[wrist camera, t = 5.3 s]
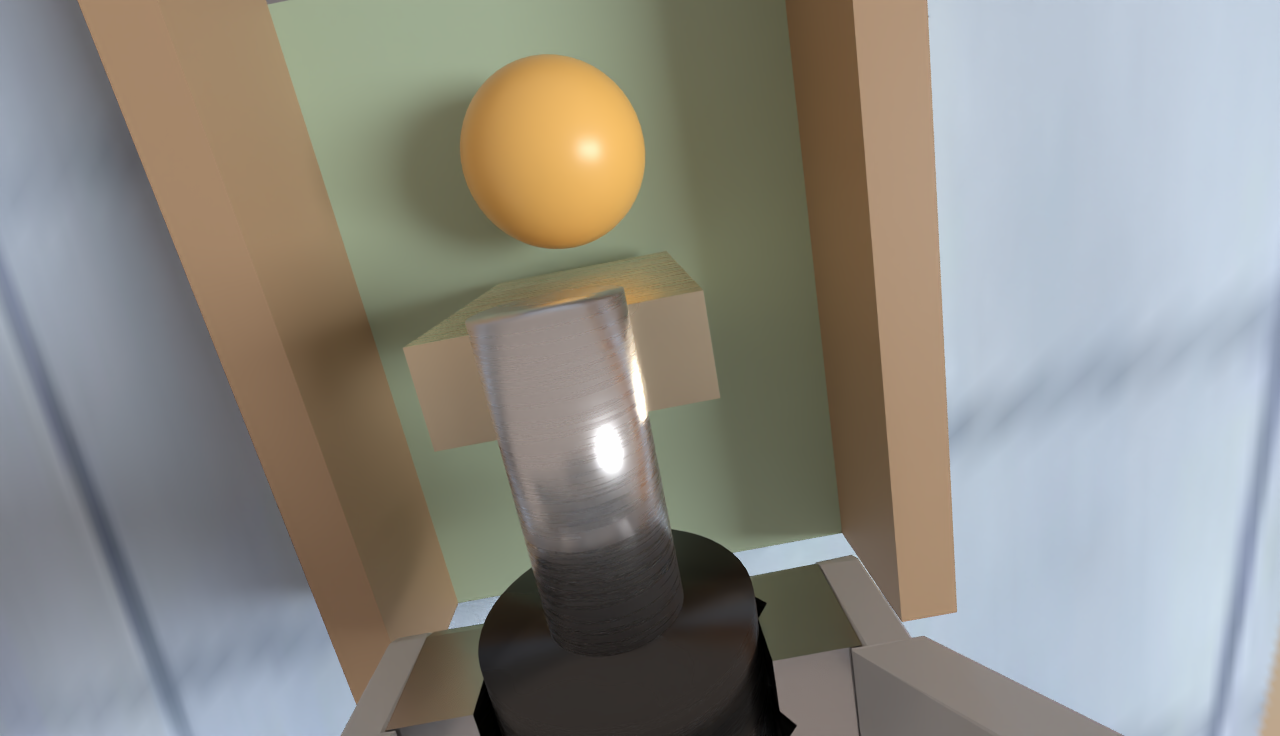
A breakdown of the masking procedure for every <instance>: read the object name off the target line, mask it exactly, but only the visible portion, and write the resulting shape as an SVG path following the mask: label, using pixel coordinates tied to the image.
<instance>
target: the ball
mask: <svg viewBox="0 0 1280 736" xmlns="http://www.w3.org/2000/svg"><path fill="white" fill-rule="evenodd" d="M460 158H461V164H462V170H463V174H464V177H465V180H466V183H467V186H468V188H469V190H470V192H471V194H472V196H473V198H474V200H475V201H476V203H477V204H478V206H479V208H480V209H481V210H482V211H483V213H484V214H485V215H486V216H487V218H488V219H489V220H490V221H491V222H492V223H493V224H495V225H496V226H497V227H498V228H499V229H501V230H502V231H503V232H505V233H506V234H508V235H509V236H511V237H513V238H515V239H516V240H519V241H521V242H523V243H526V244H529V245H532V246H536V247H540V248H547V249H566V248H574V247H578V246H582V245H585V244H588V243H590V242H593V241H595V240H597V239H599V238H600V237H602V236H604V235H605V234H607V233H608V232H609V231H611V230H612V229H613V228H615V227H616V226H617V224H618V223H619V222H620V221H621V220H622V219H623V218H624V217H625V216H626V214H627V213H628V212H629V210H630V209H631V207H632V205H633V203H634V202H635V200H636V198H637V195H638V193H639V190H640V187H641V184H642V180H643V176H644V169H645V144H644V137H643V133H642V129H641V125H640V123H639V120H638V117H637V115H636V112H635V110H634V108H633V107H632V105H631V103H630V101H629V100H628V98H627V97H626V95H625V94H624V92H623V91H622V90H621V89H620V88H619V87H618V85H617V84H616V83H615V82H614V81H613V80H612V79H610V78H609V77H608V76H607V75H606V74H605V73H603V72H602V71H600V70H599V69H597V68H595V67H594V66H592V65H590V64H588V63H586V62H584V61H581V60H578V59H575V58H572V57H568V56H562V55H556V54H541V55H533V56H528V57H525V58H521V59H518V60H516V61H513V62H511V63H509V64H507V65H505V66H504V67H502V68H500V69H499V70H497V71H496V72H495V73H494V74H493V75H491V76H490V77H489V78H488V79H487V80H486V81H485V82H484V83H483V84H482V86H481V87H480V88H479V89H478V91H477V92H476V94H475V95H474V97H473V98H472V100H471V102H470V104H469V107H468V109H467V111H466V114H465V117H464V120H463V124H462V129H461V135H460Z"/></svg>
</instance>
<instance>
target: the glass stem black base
mask: <svg viewBox="0 0 1280 736" xmlns="http://www.w3.org/2000/svg"><path fill="white" fill-rule="evenodd" d="M403 351H404V354H405V357H406V361H407V364H408V367H409V370H410V374H411V377H412V380H413V383H414V387H415V390H416V393H417V397H418V400H419V403H420V406H421V410H422V413H423V416H424V419H425V423H426V426H427V429H428V432H429V436H430V439H431V442H432V445H433V449H434V452H437V451H442V450H447V449H453V448H458V447H463V446H469V445H474V444H479V443H484V442H490V441H495V440H497V441H498V445H499V449H500V452H501V456H502V460H503V463H504V467H505V471H506V474H507V478H508V482H509V485H510V489H511V493H512V496H513V500H514V504H515V507H516V511H517V514H518V518H519V522H520V525H521V529H522V533H523V536H524V540H525V544H526V547H527V551H528V555H529V558H530V562H531V566H532V567H531V568H530V569H529V570H527V571H526V572H525V573H523V574H522V575H521V576H520V577H519V578H518V579H516V580H515V581H514V582H513V583H512V584H511V585H510V586H509V587H508V588H507V589H506V590H505V591H504V593H503V594H502V595H501V596H500V597H499V599H498V600H497V601H496V603H495V604H494V605H493V607H492V609H491V611H490V612H489V614H488V616H487V618H486V620H485V622H484V625H483V627H482V630H481V634H480V639H479V646H478V658H479V664H480V669H481V672H482V675H483V678H484V681H485V685H486V688H487V691H488V694H489V697H490V700H491V703H492V707H493V710H494V713H495V716H496V719H497V722H498V725H499V729H500V732H501V735H502V736H777V735H776V729H775V723H774V716H773V710H772V704H771V698H770V689H769V683H768V677H767V670H766V666H765V660H764V653H763V647H762V640H761V634H760V627H759V621H758V613H757V607H756V601H755V594H754V589H753V585H752V581H751V578H750V576H749V574H748V572H747V570H746V568H745V567H744V566H743V564H742V563H741V561H740V560H739V559H738V558H737V557H736V556H735V555H734V554H733V553H732V552H731V551H729V550H728V549H726V548H725V547H724V546H722V545H720V544H719V543H717V542H715V541H713V540H711V539H708V538H706V537H703V536H701V535H697V534H694V533H690V532H686V531H680V530H674V529H671V526H670V521H669V516H668V511H667V506H666V501H665V496H664V491H663V485H662V480H661V475H660V470H659V465H658V460H657V455H656V450H655V445H654V439H653V434H652V429H651V424H650V419H649V414H648V412H649V411H654V410H660V409H665V408H670V407H676V406H681V405H686V404H692V403H697V402H702V401H707V400H713V399H718V398H720V392H719V386H718V379H717V373H716V367H715V361H714V354H713V348H712V342H711V335H710V329H709V323H708V317H707V310H706V304H705V298H704V291H703V289H702V288H701V287H700V286H699V285H698V284H697V283H696V282H695V281H694V280H693V279H692V278H691V277H690V276H689V275H688V274H687V272H686V271H685V270H684V269H683V268H682V267H681V266H680V265H679V264H678V263H677V262H676V261H675V260H674V259H673V258H672V257H671V255H670V254H669V253H668V252H667V251H663V252H657V253H652V254H647V255H642V256H637V257H632V258H626V259H621V260H616V261H611V262H606V263H601V264H595V265H590V266H585V267H580V268H575V269H570V270H564V271H559V272H554V273H549V274H544V275H539V276H533V277H528V278H523V279H518V280H513V281H508V282H502V283H499V284H498V285H496V286H495V287H493V288H492V289H490V290H489V291H487V292H486V293H484V294H483V295H481V296H480V297H478V298H477V299H475V300H474V301H472V302H471V303H469V304H468V305H466V306H465V307H463V308H462V309H460V310H459V311H457V312H456V313H454V314H453V315H451V316H450V317H448V318H447V319H445V320H444V321H442V322H441V323H439V324H438V325H436V326H435V327H433V328H432V329H430V330H429V331H427V332H426V333H424V334H423V335H421V336H420V337H418V338H417V339H415V340H414V341H412V342H411V343H409V344H408V345H406V346H405V347H403Z"/></svg>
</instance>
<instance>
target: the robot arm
mask: <svg viewBox="0 0 1280 736" xmlns="http://www.w3.org/2000/svg"><path fill="white" fill-rule="evenodd" d="M750 578H751V581H752V585H753V589H754V594H755V601H756V607H757V613H758V621H759V627H760V634H761V640H762V647H763V653H764V660H765V666H766V670H767V677H768V683H769V689H770V698H771V704H772V710H773V716H774V723H775V729H776V735H777V736H1124V735H1122V734H1120V733H1118V732H1116V731H1114V730H1112V729H1110V728H1108V727H1106V726H1104V725H1102V724H1100V723H1098V722H1096V721H1094V720H1092V719H1090V718H1088V717H1086V716H1084V715H1082V714H1080V713H1078V712H1076V711H1074V710H1072V709H1070V708H1068V707H1066V706H1064V705H1062V704H1060V703H1058V702H1056V701H1054V700H1052V699H1050V698H1048V697H1046V696H1044V695H1042V694H1039V693H1037V692H1035V691H1033V690H1031V689H1029V688H1027V687H1025V686H1023V685H1021V684H1019V683H1017V682H1015V681H1013V680H1011V679H1009V678H1007V677H1005V676H1003V675H1001V674H999V673H997V672H995V671H993V670H991V669H989V668H987V667H985V666H983V665H981V664H979V663H977V662H975V661H973V660H971V659H969V658H967V657H965V656H963V655H961V654H959V653H957V652H955V651H953V650H951V649H949V648H947V647H945V646H943V645H941V644H939V643H937V642H935V641H933V640H931V639H929V638H927V637H925V636H920V637H914V638H912V637H911V636H910V635H909V633H908V632H907V630H906V629H905V627H904V626H903V624H902V623H901V621H900V620H899V618H898V617H897V615H896V614H895V612H894V611H893V610H892V608H891V607H890V605H889V604H888V602H887V601H886V599H885V598H884V596H883V595H882V593H881V592H880V590H879V589H878V587H877V586H876V585H875V583H874V582H873V580H872V579H871V577H870V576H869V574H868V573H867V571H866V570H865V568H864V567H863V565H862V564H861V562H860V561H859V560H858V558H856V557H854V556H853V555H849V556H844V557H840V558H835V559H830V560H826V561H821V562H816V563H815V564H813V565H807V566H802V567H797V568H792V569H786V570H781V571H776V572H771V573H765V574H760V575H755V576H750ZM483 625H484V624H479V625H473V626H467V627H460V628H454V629H448V630H441V631H435V632H433V633H424V634H418V635H413V636H407V637H402V638H398V639H396V640H395V641H393V642H391V643H390V644H389V646H388V647H387V649H386V651H385V653H384V655H383V657H382V658H381V660H380V662H379V664H378V666H377V668H376V670H375V672H374V674H373V675H372V677H371V679H370V681H369V683H368V685H367V687H366V689H365V691H364V692H363V694H362V696H361V698H360V700H359V702H358V704H357V706H356V708H355V709H354V711H353V713H352V715H351V717H350V719H349V721H348V723H347V724H346V726H345V728H344V730H343V732H342V734H341V736H502V735H501V732H500V729H499V725H498V722H497V719H496V716H495V713H494V710H493V707H492V703H491V700H490V697H489V694H488V691H487V688H486V685H485V681H484V678H483V675H482V672H481V669H480V664H479V658H478V646H479V639H480V634H481V630H482V627H483Z"/></svg>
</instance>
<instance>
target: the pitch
mask: <svg viewBox="0 0 1280 736" xmlns="http://www.w3.org/2000/svg"><path fill="white" fill-rule="evenodd" d="M78 3H79V5H80V8H81V10H82V13H83V16H84V18H85V21H86V23H87V26H88V28H89V31H90V33H91V36H92V38H93V41H94V43H95V46H96V48H97V51H98V53H99V56H100V58H101V61H102V63H103V66H104V69H105V71H106V74H107V76H108V79H109V81H110V84H111V86H112V89H113V91H114V94H115V96H116V99H117V101H118V104H119V106H120V109H121V111H122V114H123V117H124V119H125V122H126V124H127V127H128V129H129V132H130V134H131V137H132V139H133V142H134V144H135V147H136V149H137V152H138V154H139V157H140V159H141V162H142V164H143V167H144V170H145V172H146V175H147V177H148V180H149V182H150V185H151V187H152V190H153V192H154V195H155V197H156V200H157V202H158V205H159V207H160V210H161V212H162V215H163V217H164V220H165V223H166V225H167V228H168V230H169V233H170V235H171V238H172V240H173V243H174V245H175V248H176V250H177V253H178V255H179V258H180V260H181V263H182V265H183V268H184V270H185V273H186V276H187V278H188V281H189V283H190V286H191V288H192V291H193V293H194V296H195V298H196V301H197V303H198V306H199V308H200V311H201V313H202V316H203V318H204V321H205V324H206V326H207V329H208V331H209V334H210V336H211V339H212V341H213V344H214V346H215V349H216V351H217V354H218V356H219V359H220V361H221V364H222V366H223V369H224V371H225V374H226V377H227V379H228V382H229V384H230V387H231V389H232V392H233V394H234V397H235V399H236V402H237V404H238V407H239V409H240V412H241V414H242V417H243V419H244V422H245V424H246V427H247V430H248V432H249V435H250V437H251V440H252V442H253V445H254V447H255V450H256V452H257V455H258V457H259V460H260V462H261V465H262V467H263V470H264V472H265V475H266V477H267V480H268V483H269V485H270V488H271V490H272V493H273V495H274V498H275V500H276V503H277V505H278V508H279V510H280V513H281V515H282V518H283V520H284V523H285V525H286V528H287V531H288V533H289V536H290V538H291V541H292V543H293V546H294V548H295V551H296V553H297V556H298V558H299V561H300V563H301V566H302V568H303V571H304V573H305V576H306V578H307V581H308V584H309V586H310V589H311V591H312V594H313V596H314V599H315V601H316V604H317V606H318V609H319V611H320V614H321V616H322V619H323V621H324V624H325V626H326V629H327V631H328V634H329V637H330V639H331V642H332V644H333V647H334V649H335V652H336V654H337V657H338V659H339V662H340V664H341V667H342V669H343V672H344V674H345V677H346V679H347V682H348V684H349V687H350V690H351V692H352V695H353V697H354V700H355V702H356V705H357V704H358V702H359V700H360V698H361V696H362V694H363V692H364V691H365V689H366V687H367V685H368V683H369V681H370V679H371V677H372V675H373V674H374V672H375V670H376V668H377V666H378V664H379V662H380V660H381V658H382V657H383V655H384V653H385V651H386V649H387V647H388V646H389V644H390V643H391V642H393V641H395V640H396V639H398V638H402V637H407V636H413V635H418V634H424V633H433V632H435V631H441V630H448V627H449V625H450V622H451V620H452V617H453V615H454V612H455V610H456V607H457V605H458V603H461V602H467V601H472V600H478V599H483V598H488V597H494V596H499V595H502V594H503V593H504V591H505V590H506V589H507V588H508V587H509V586H510V585H511V584H512V583H513V582H514V581H515V580H516V579H518V578H519V577H520V576H521V575H522V574H523V573H525V572H526V571H527V570H529V569H530V568H531V567H532V566H531V562H530V558H529V555H528V551H527V547H526V544H525V540H524V536H523V533H522V529H521V525H520V522H519V518H518V514H517V511H516V507H515V504H514V500H513V496H512V493H511V489H510V485H509V482H508V478H507V474H506V471H505V467H504V463H503V460H502V456H501V452H500V449H499V445H498V441H497V440H495V441H490V442H484V443H479V444H474V445H469V446H463V447H458V448H453V449H447V450H442V451H437V452H434V449H433V445H432V442H431V439H430V436H429V432H428V429H427V426H426V423H425V419H424V416H423V413H422V410H421V406H420V403H419V400H418V397H417V393H416V390H415V387H414V383H413V380H412V377H411V374H410V370H409V367H408V364H407V361H406V357H405V354H404V351H403V347H405V346H406V345H408V344H409V343H411V342H412V341H414V340H415V339H417V338H418V337H420V336H421V335H423V334H424V333H426V332H427V331H429V330H430V329H432V328H433V327H435V326H436V325H438V324H439V323H441V322H442V321H444V320H445V319H447V318H448V317H450V316H451V315H453V314H454V313H456V312H457V311H459V310H460V309H462V308H463V307H465V306H466V305H468V304H469V303H471V302H472V301H474V300H475V299H477V298H478V297H480V296H481V295H483V294H484V293H486V292H487V291H489V290H490V289H492V288H493V287H495V286H496V285H498V284H499V283H502V282H508V281H513V280H518V279H523V278H528V277H533V276H539V275H544V274H549V273H554V272H559V271H564V270H570V269H575V268H580V267H585V266H590V265H595V264H601V263H606V262H611V261H616V260H621V259H626V258H632V257H637V256H642V255H647V254H652V253H657V252H663V251H667V252H668V253H669V254H670V255H671V257H672V258H673V259H674V260H675V261H676V262H677V263H678V264H679V265H680V266H681V267H682V268H683V269H684V270H685V271H686V272H687V274H688V275H689V276H690V277H691V278H692V279H693V280H694V281H695V282H696V283H697V284H698V285H699V286H700V287H701V288H702V289H703V291H704V298H705V304H706V310H707V317H708V323H709V329H710V335H711V342H712V348H713V354H714V361H715V367H716V373H717V379H718V386H719V392H720V398H718V399H713V400H707V401H702V402H697V403H692V404H686V405H681V406H676V407H670V408H665V409H660V410H654V411H649V412H648V414H649V419H650V424H651V429H652V434H653V439H654V445H655V450H656V455H657V460H658V465H659V470H660V475H661V480H662V485H663V491H664V496H665V501H666V506H667V511H668V516H669V521H670V526H671V529H674V530H680V531H686V532H690V533H694V534H697V535H701V536H703V537H706V538H708V539H711V540H713V541H715V542H717V543H719V544H720V545H722V546H724V547H725V548H726V549H728V550H729V551H731V552H732V553H734V552H740V551H745V550H751V549H756V548H762V547H767V546H773V545H778V544H783V543H789V542H794V541H800V540H805V539H811V538H816V537H822V536H827V535H833V534H838V533H843V535H844V536H845V538H846V539H847V541H848V542H849V544H850V545H851V547H852V548H853V550H854V551H855V553H856V554H857V556H858V557H859V559H860V560H861V562H862V563H863V565H864V566H865V568H866V569H867V571H868V572H869V574H870V575H871V577H872V578H873V580H874V581H875V583H876V584H877V586H878V587H879V589H880V590H881V592H882V593H883V595H884V596H885V598H886V599H887V601H888V602H889V603H890V605H891V606H892V608H893V609H894V611H895V612H896V614H897V615H898V617H899V618H900V620H901V621H902V622H904V621H910V620H916V619H921V618H927V617H932V616H938V615H943V614H949V613H954V612H957V603H956V582H955V562H954V541H953V521H952V500H951V480H950V459H949V439H948V418H947V398H946V377H945V357H944V336H943V315H942V295H941V274H940V254H939V233H938V213H937V192H936V172H935V151H934V131H933V110H932V90H931V69H930V49H929V28H928V8H927V0H78ZM541 54H556V55H562V56H568V57H572V58H575V59H578V60H581V61H584V62H586V63H588V64H590V65H592V66H594V67H595V68H597V69H599V70H600V71H602V72H603V73H605V74H606V75H607V76H608V77H609V78H610V79H612V80H613V81H614V82H615V83H616V84H617V85H618V87H619V88H620V89H621V90H622V91H623V92H624V94H625V95H626V97H627V98H628V100H629V101H630V103H631V105H632V107H633V108H634V110H635V112H636V115H637V117H638V120H639V123H640V125H641V129H642V133H643V137H644V144H645V169H644V176H643V180H642V184H641V187H640V190H639V193H638V195H637V198H636V200H635V202H634V203H633V205H632V207H631V209H630V210H629V212H628V213H627V214H626V216H625V217H624V218H623V219H622V220H621V221H620V222H619V223H618V224H617V226H616V227H615V228H613V229H612V230H611V231H609V232H608V233H607V234H605V235H604V236H602V237H600V238H599V239H597V240H595V241H593V242H590V243H588V244H585V245H582V246H578V247H574V248H566V249H547V248H540V247H536V246H532V245H529V244H526V243H523V242H521V241H519V240H516V239H515V238H513V237H511V236H509V235H508V234H506V233H505V232H503V231H502V230H501V229H499V228H498V227H497V226H496V225H495V224H493V223H492V222H491V221H490V220H489V219H488V218H487V216H486V215H485V214H484V213H483V211H482V210H481V209H480V208H479V206H478V204H477V203H476V201H475V200H474V198H473V196H472V194H471V192H470V190H469V188H468V186H467V183H466V180H465V177H464V174H463V170H462V164H461V158H460V135H461V129H462V124H463V120H464V117H465V114H466V111H467V109H468V107H469V104H470V102H471V100H472V98H473V97H474V95H475V94H476V92H477V91H478V89H479V88H480V87H481V86H482V84H483V83H484V82H485V81H486V80H487V79H488V78H489V77H490V76H491V75H493V74H494V73H495V72H496V71H497V70H499V69H500V68H502V67H504V66H505V65H507V64H509V63H511V62H513V61H516V60H518V59H521V58H525V57H528V56H533V55H541Z"/></svg>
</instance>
